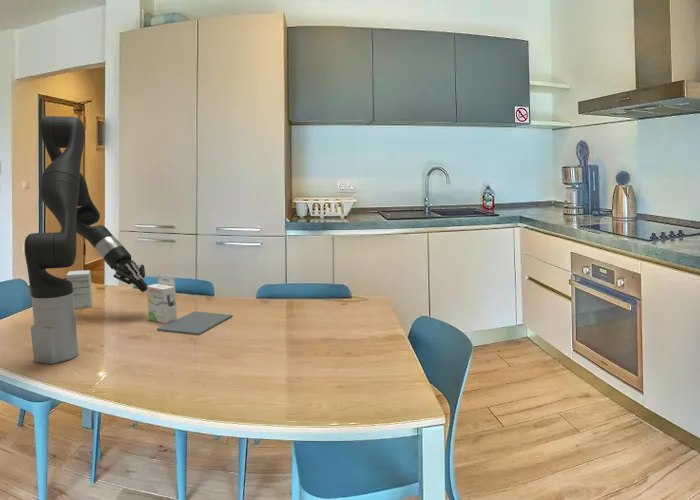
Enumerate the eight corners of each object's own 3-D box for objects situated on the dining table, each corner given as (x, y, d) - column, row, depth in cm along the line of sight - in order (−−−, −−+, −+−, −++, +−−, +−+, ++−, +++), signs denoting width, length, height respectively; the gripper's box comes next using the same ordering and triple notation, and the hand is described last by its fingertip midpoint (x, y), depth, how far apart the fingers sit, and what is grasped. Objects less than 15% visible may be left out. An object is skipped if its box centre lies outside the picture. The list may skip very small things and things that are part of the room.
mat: (199, 335, 142) (199, 333, 142) (157, 330, 146) (156, 328, 146) (232, 316, 161) (232, 314, 161) (194, 312, 165) (194, 311, 165)
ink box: (147, 319, 157) (145, 276, 154) (160, 316, 161) (157, 274, 159) (165, 323, 153) (163, 279, 150) (177, 319, 157) (175, 276, 155)
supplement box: (70, 304, 175) (68, 271, 173) (93, 302, 178) (90, 269, 176) (68, 309, 168) (65, 275, 166) (91, 307, 171) (89, 273, 169)
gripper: (104, 247, 151) (138, 287, 149) (133, 242, 163) (164, 278, 162) (91, 263, 153) (125, 302, 152) (121, 256, 166) (152, 292, 164)
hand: (145, 290), depth 157 cm, fingers closed
